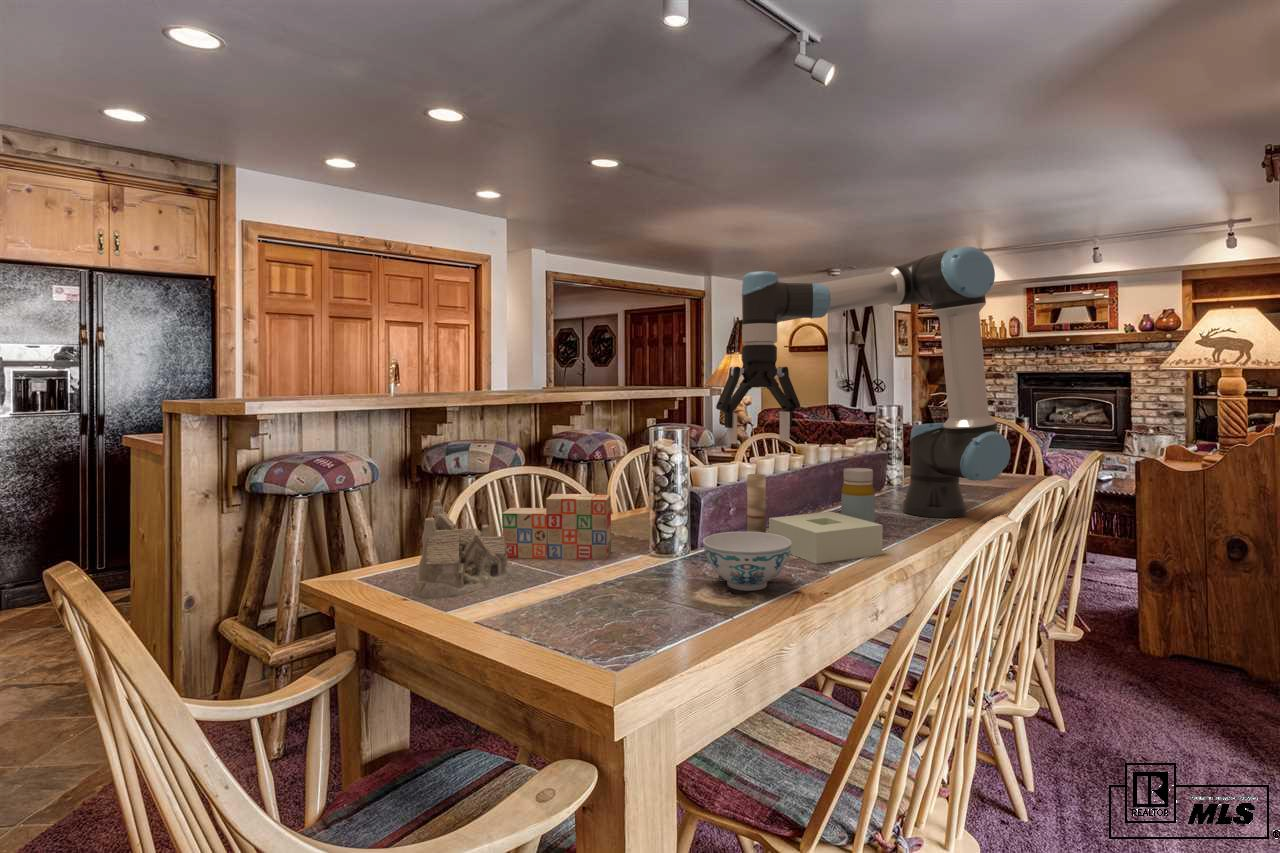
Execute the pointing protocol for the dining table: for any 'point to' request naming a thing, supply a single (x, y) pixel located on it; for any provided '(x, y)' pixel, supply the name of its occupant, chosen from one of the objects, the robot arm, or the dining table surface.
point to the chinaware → (747, 557)
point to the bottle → (858, 494)
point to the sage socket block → (829, 536)
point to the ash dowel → (756, 503)
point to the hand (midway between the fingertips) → (758, 442)
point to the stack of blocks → (560, 528)
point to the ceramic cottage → (458, 558)
